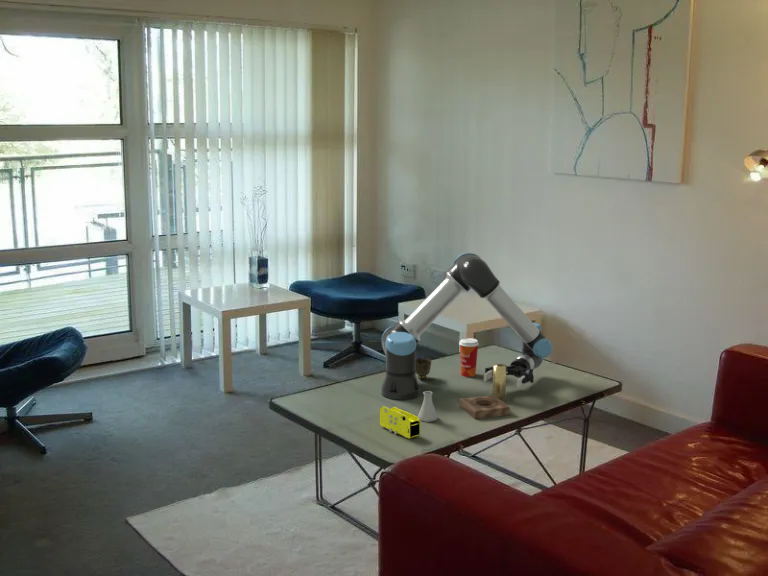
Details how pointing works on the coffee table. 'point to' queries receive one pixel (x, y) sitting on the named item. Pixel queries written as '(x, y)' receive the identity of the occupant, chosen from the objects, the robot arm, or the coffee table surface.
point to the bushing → (499, 381)
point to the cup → (422, 367)
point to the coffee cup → (468, 356)
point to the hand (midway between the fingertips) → (500, 380)
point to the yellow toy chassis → (400, 422)
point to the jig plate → (484, 407)
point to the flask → (427, 408)
